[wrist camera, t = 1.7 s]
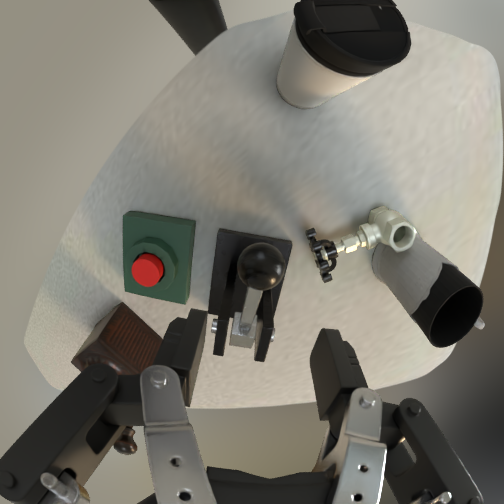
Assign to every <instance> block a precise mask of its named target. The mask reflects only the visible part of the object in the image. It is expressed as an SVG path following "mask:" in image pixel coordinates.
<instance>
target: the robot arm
mask: <svg viewBox="0 0 504 504" xmlns="http://www.w3.org/2000/svg"><path fill="white" fill-rule="evenodd" d="M207 315H208V311H203V310H198V309H192V308H191V310H190V312H189V315H188V318H187V319H184V318H179V317H177V318H176V319H175V320H173V321H172V322H171V323H170V324H169V326H168V329H167V331H166V333H165V335H164V338H163V340H162V342H161V345H160V347H159V349H158V352H157V354H156V357H155V359H154V361H153V364H152V366H150V367H148V368H146V369H145V370H143V372H142V373H140V374H136V375H117V373H116V371H115V370H114V369H113V368H112V367H111V366H109V365H107V364H102V363H96V364H92V365H90V366H88V367H87V368H85V369H84V370H83V371H82V372H81V373H80V374H79V375H78V376H77V377H76V378H75V379H74V380H73V381H72V382H71V383H70V384H69V385H68V387H67V388H66V389H65V390H64V391H63V392H62V393H61V394H60V395H59V396H58V397H57V398H56V399H55V400H54V401H53V402H52V403H51V404H50V405H49V406H48V407H47V409H45V411H44V412H43V413H42V414H41V415H40V416H39V417H38V418H37V419H36V420H35V421H34V422H33V423H32V424H31V426H29V428H28V429H27V430H26V431H25V432H24V433H23V434H22V435H21V436H20V437H19V439H18V440H17V441H16V442H15V443H14V444H13V445H12V446H11V447H10V449H9V450H8V451H7V452H6V453H5V454H4V456H3V457H2V458H1V459H0V495H1V496H2V497H4V498H5V499H7V500H9V501H11V502H12V503H14V504H90V497H89V494H88V492H87V491H86V489H85V488H84V487H83V486H84V485H85V483H86V482H87V481H88V479H89V477H90V476H91V475H92V473H93V472H94V471H95V469H96V468H97V467H98V465H99V464H100V462H101V461H102V459H103V458H104V457H105V455H106V454H107V452H108V451H109V450H110V448H111V447H112V446H113V444H114V443H115V441H116V440H117V439H118V437H119V436H120V434H121V433H122V432H123V430H124V429H125V427H126V426H144V435H145V442H146V448H147V455H148V460H149V465H150V471H151V475H152V480H153V486H154V490H155V493H153V494H152V495H150V496H149V497H147V498H146V499H144V500H142V501H141V502H139V503H137V504H379V500H380V494H381V488H382V482H383V476H385V478H386V480H387V482H388V484H389V486H390V488H391V490H392V492H393V493H394V495H395V497H396V499H397V501H398V503H399V504H484V501H483V497H482V494H481V493H480V491H479V489H478V488H477V486H476V484H475V483H474V481H473V479H472V478H471V476H470V475H469V473H468V471H467V470H466V468H465V467H464V465H463V463H462V462H461V460H460V459H459V457H458V456H457V454H456V453H455V451H454V449H453V448H452V446H451V445H450V443H449V442H448V440H447V439H446V438H445V436H444V434H443V433H442V432H441V430H440V429H439V427H438V426H437V424H436V423H435V421H434V420H433V418H432V417H431V416H430V414H429V413H428V411H427V410H426V409H425V407H424V406H423V404H422V403H421V402H419V401H418V400H416V399H413V398H406V399H404V400H403V401H402V402H401V403H400V404H399V405H395V404H390V403H386V402H383V401H382V399H381V397H380V395H378V393H377V392H375V391H374V390H372V389H369V388H368V386H367V383H366V380H365V377H364V375H363V372H362V369H361V367H360V365H359V361H358V359H357V356H356V353H355V351H354V349H353V347H352V346H351V345H350V344H349V343H348V342H347V341H343V340H342V338H341V335H340V332H339V330H335V329H325V328H322V329H321V331H320V333H319V335H318V338H317V340H316V343H315V345H314V347H313V350H312V352H311V356H310V368H311V373H312V379H313V384H314V389H315V395H316V401H317V406H318V412H319V418H320V420H323V421H325V420H329V423H330V426H329V427H328V428H327V430H326V433H325V437H324V440H323V443H322V447H321V450H320V453H319V456H318V460H317V463H316V465H315V467H314V469H313V470H312V472H300V473H296V474H292V475H288V476H283V477H278V478H272V479H268V478H264V477H260V476H256V475H252V474H249V473H245V472H242V471H239V470H231V469H223V468H215V467H209V466H207V471H205V468H204V465H203V461H202V458H201V455H200V451H199V448H198V444H197V441H196V438H195V434H194V430H193V427H192V425H191V424H190V423H189V420H188V416H187V412H186V408H185V406H187V407H190V404H191V399H192V395H193V390H194V386H195V382H196V378H197V373H198V369H199V365H200V361H201V357H202V352H203V348H204V342H205V334H206V324H207ZM404 439H406V440H407V442H408V443H409V445H410V447H411V448H412V450H413V452H414V453H415V455H416V459H417V460H416V464H415V463H414V462H413V460H412V458H411V456H410V455H409V453H408V451H407V450H406V448H405V446H404V445H403V443H402V441H403V440H404Z"/></svg>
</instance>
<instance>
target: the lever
mask: <svg viewBox="0 0 504 504" xmlns="http://www.w3.org/2000/svg"><path fill="white" fill-rule="evenodd" d="M237 270H238V274H239V277H240V279H241V280H242V282H243V283H244V284H245V285H246V286H247V291H246V295H245V299H244V303H243V307H242V312H241V313H240V312H235V313H234V318H233V323H232V330H231V336H230V343H229V345H231V346H237V347H244V348H251V347H252V345H253V343H254V340H255V338H256V328H257V318H258V315H255V314H256V311H257V308H258V305H259V302H260V299H261V296H262V293H263V291H264V290H268V289H271V288H273V287H275V286H276V285H277V284H278V283H279V282H280V281H281V279H282V278H283V276H284V272H285V261H284V258H283V256H282V254H281V252H280V251H279V250H278V249H277V248H276V247H274V246H273V245H270V244H268V243H255V244H252V245H250V246H248V247H247V248H246V249H244V250H243V252H242V253H241V254H240V257H239V259H238V263H237Z"/></svg>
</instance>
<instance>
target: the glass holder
mask: <svg viewBox="0 0 504 504" xmlns="http://www.w3.org/2000/svg"><path fill="white" fill-rule="evenodd" d="M372 266H373V271H374V273H375V275H376V277H377V278H378V279H379V280H380V281H381V282H383V283H384V284H386V285H387V286H388V287H389V289H390V290H391V291H392V293H393V294H394V295H395V296H396V298H397V299H398V300H399V302H400V303H401V304H402V306H403V307H404V309H405V310H406V311H407V313H408V314H409V315H410V317H411V318H412V319H413V321H414V322H415V323H417V324H418V325H419V327H420V328H421V330H422V331H423V332H424V334H425V335H426V337H427V338H428V340H429V341H430V343H431V344H432V345H433V346H435V347H439V348H443V347H448V346H450V345H453V344H454V343H456V342H458V341H459V340H460V339H462V338H463V337H464V336H465V335H466V334H467V333H468V332H469V331H470V330H471V328H472V327H473V326H476V327H477V328H479V329H482V328H483V327H484V322H483V321H482V320H481V318H480V317H479V315H480V313H481V310H482V306H483V293H482V291H481V289H480V288H479V287H478V286H476V285H475V284H474V283H473V282H472V281H471V280H470V279H468V278H467V277H466V276H465V275H464V274H463V273H461V272H460V271H459V269H458V267H457V266H455V265H454V264H453V263H452V262H450V261H449V260H448V259H447V258H445V257H444V256H443V255H441V254H440V253H439V252H438V251H436V250H435V249H434V248H432V247H431V246H430V245H428V244H427V243H426V242H424V241H423V240H422V238H421V237H420V235H419V234H418V233H417V232H416V234H415V238H414V242H413V244H412V246H411V247H410V248H409V249H407V250H404V251H402V252H398V253H397V252H396V251H395V250H394V249H393V248H392V247H391V246H389V245H385V244H383V243H382V242H379V243H378V245H377V247H376V249H375V251H374V254H373V260H372Z"/></svg>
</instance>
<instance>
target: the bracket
mask: <svg viewBox="0 0 504 504" xmlns="http://www.w3.org/2000/svg"><path fill="white" fill-rule="evenodd" d="M255 243H268V244H270V245H273V246H274V247H276V248H277V249H278V250H279V251H280V252H281V254H282V256H283V258H284V261H285V272H284V276H283V278H282V279H281V281H280V282H279V283H278V284H277V285H276V286H275V287H273V288H271V289H268V290H264V291H263V293H262V296H261V299H260V302H259V305H258V308H257V311H256V314H255V315H258V318H257V328H256V338H255V353H254V360H255V361H259V362H264V361H265V358H266V354H267V351H268V348H269V344H270V342H273V340H274V337H275V328H274V321H273V318H274V315H275V311H276V307H277V303H278V300H279V296H280V292H281V288H282V284H283V281H284V277H285V273H286V269H287V265H288V261H289V257H290V253H291V249H292V242H291V241H287V240H282V239H276V238H271V237H265V236H259V235H254V234H248V233H242V232H236V231H230V230H224V229H219V231H218V235H217V243H216V250H215V258H214V266H213V273H212V282H211V290H210V299H209V307H208V314H213V315H218V319H213V323H212V329H211V332H212V333H216V335H215V343H214V351H213V355H218V356H223V355H224V349H225V343H226V337H227V330H228V324H229V318H230V317H231V318H234V313H235V312H240V313H241V312H242V307H243V303H244V299H245V295H246V291H247V286H246V285H245V284H244V283H243V282H242V280H241V279H240V277H239V274H238V270H237V263H238V259H239V257H240V254H241V253H242V252H243V250H244V249H246V248H247V247H248V246H250V245H252V244H255Z"/></svg>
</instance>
